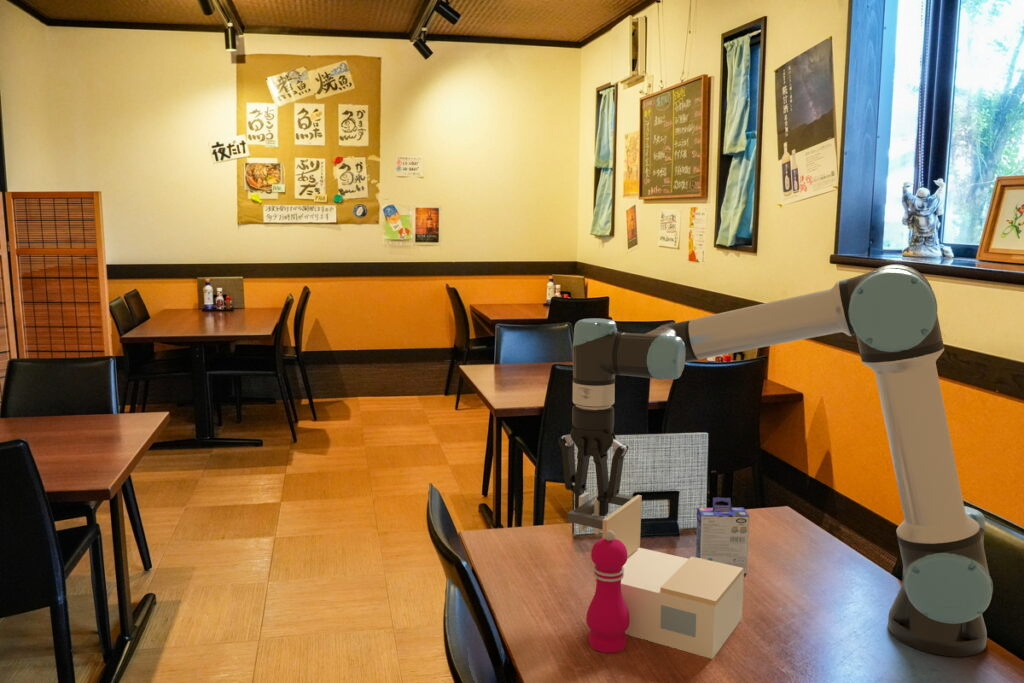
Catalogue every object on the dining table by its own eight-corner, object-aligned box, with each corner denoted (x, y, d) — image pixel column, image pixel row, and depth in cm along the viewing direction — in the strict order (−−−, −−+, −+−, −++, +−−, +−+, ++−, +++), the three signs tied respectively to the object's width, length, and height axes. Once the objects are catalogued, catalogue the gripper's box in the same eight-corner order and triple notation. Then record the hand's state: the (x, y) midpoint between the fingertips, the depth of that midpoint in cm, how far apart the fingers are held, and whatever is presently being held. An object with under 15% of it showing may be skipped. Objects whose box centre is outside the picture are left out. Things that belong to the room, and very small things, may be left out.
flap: (641, 495, 158) (603, 487, 162) (607, 520, 145) (566, 511, 149) (639, 546, 159) (602, 537, 163) (605, 575, 147) (565, 565, 151)
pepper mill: (601, 629, 147) (603, 519, 144) (637, 642, 143) (640, 529, 140) (577, 645, 142) (579, 531, 139) (614, 659, 137) (616, 542, 134)
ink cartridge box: (741, 563, 175) (744, 495, 172) (748, 574, 169) (751, 505, 167) (693, 562, 175) (696, 495, 173) (699, 574, 169) (701, 504, 167)
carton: (741, 618, 151) (744, 566, 149) (712, 659, 137) (714, 602, 136) (637, 592, 161) (639, 543, 160) (600, 627, 148) (601, 574, 146)
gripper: (545, 403, 153) (544, 528, 156) (624, 414, 145) (621, 545, 148) (565, 396, 159) (563, 515, 163) (641, 406, 151) (638, 531, 155)
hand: (591, 529), depth 156 cm, fingers closed on flap, 2 cm apart
